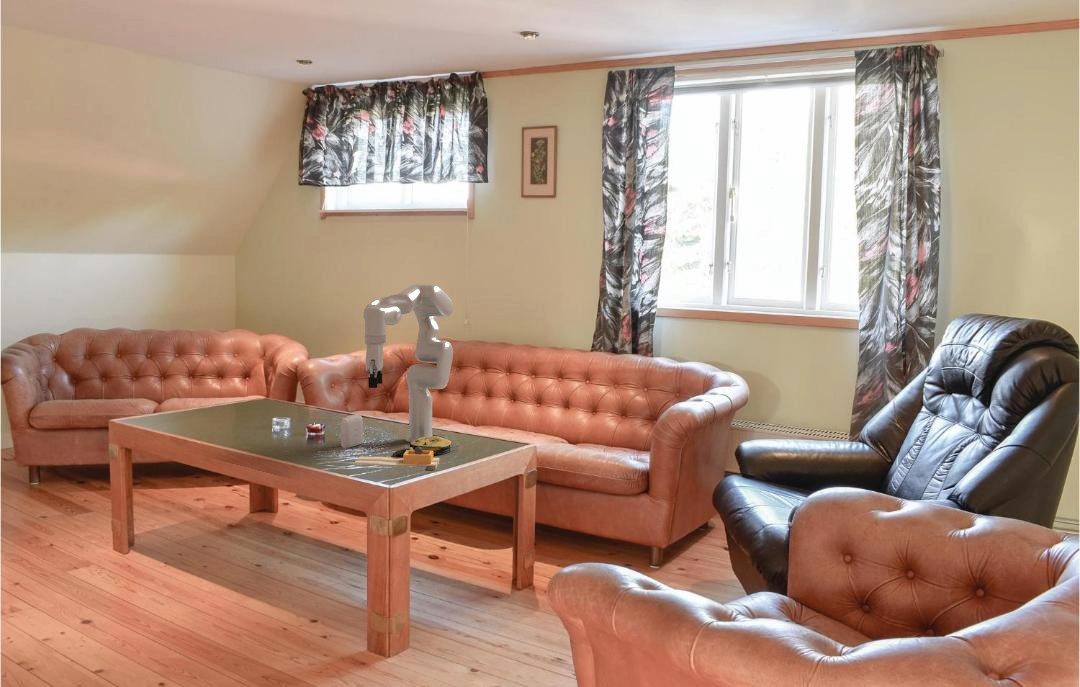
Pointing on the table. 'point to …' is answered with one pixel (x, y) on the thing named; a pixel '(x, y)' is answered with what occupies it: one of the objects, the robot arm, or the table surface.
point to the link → (417, 457)
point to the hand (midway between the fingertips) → (375, 385)
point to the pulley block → (428, 445)
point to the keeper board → (395, 461)
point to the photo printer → (351, 431)
